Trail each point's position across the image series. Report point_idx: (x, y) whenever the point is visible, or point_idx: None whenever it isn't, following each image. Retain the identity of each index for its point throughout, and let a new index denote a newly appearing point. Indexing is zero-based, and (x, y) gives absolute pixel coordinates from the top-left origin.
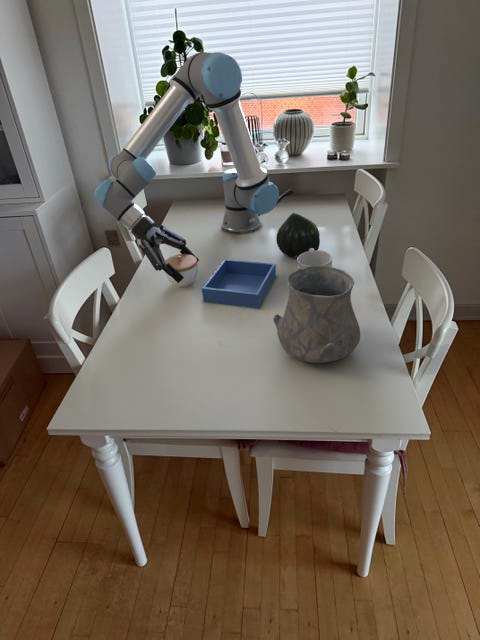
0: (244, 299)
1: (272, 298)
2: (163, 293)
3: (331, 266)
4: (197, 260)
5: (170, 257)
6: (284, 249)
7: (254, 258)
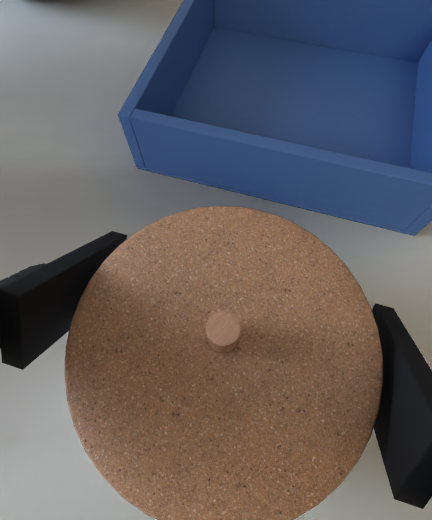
0: None
1: None
2: (356, 481)
3: None
4: (122, 241)
5: (121, 462)
6: None
7: (42, 78)
